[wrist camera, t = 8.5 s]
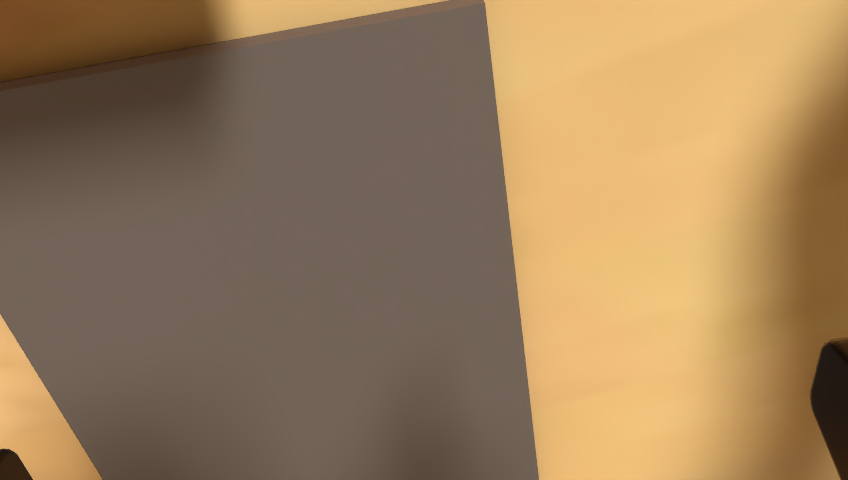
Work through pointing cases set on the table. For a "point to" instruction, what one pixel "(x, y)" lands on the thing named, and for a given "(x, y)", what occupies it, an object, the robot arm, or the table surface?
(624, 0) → the table surface
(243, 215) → the mat
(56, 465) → the table surface
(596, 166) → the table surface
